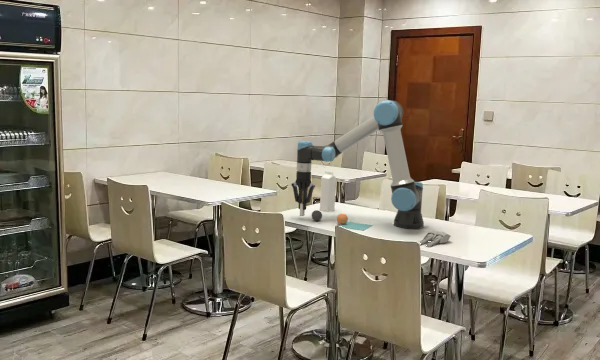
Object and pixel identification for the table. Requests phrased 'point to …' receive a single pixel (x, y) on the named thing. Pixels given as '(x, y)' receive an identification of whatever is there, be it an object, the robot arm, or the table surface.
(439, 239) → the grey glove
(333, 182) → the milk
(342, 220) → the ball
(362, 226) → the mark
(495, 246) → the table surface
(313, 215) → the ball
